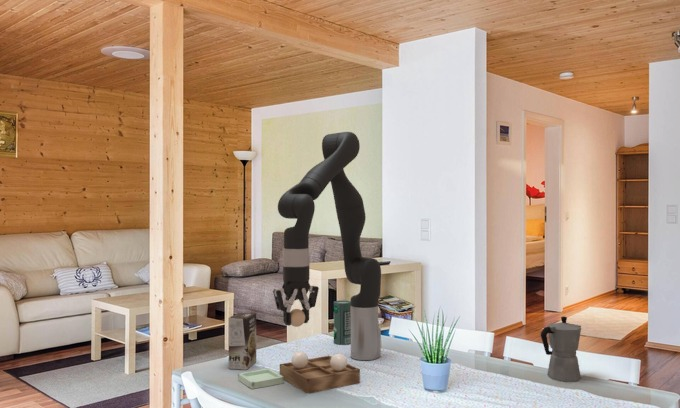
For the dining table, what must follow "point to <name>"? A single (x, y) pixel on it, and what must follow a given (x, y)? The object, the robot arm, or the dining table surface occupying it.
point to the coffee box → (242, 341)
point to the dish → (260, 378)
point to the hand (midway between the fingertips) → (296, 323)
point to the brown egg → (297, 317)
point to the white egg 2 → (338, 362)
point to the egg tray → (319, 375)
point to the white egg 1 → (299, 360)
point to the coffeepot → (562, 350)
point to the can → (342, 322)
